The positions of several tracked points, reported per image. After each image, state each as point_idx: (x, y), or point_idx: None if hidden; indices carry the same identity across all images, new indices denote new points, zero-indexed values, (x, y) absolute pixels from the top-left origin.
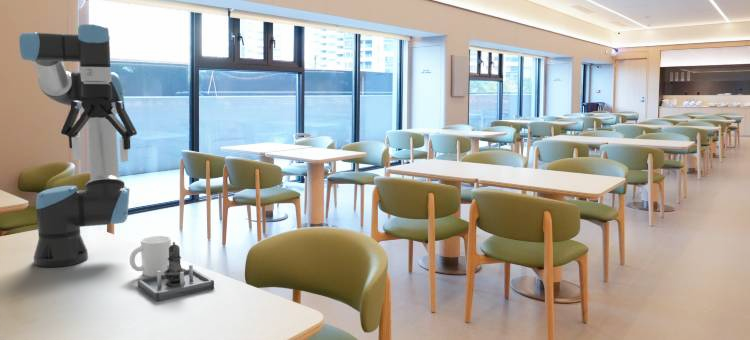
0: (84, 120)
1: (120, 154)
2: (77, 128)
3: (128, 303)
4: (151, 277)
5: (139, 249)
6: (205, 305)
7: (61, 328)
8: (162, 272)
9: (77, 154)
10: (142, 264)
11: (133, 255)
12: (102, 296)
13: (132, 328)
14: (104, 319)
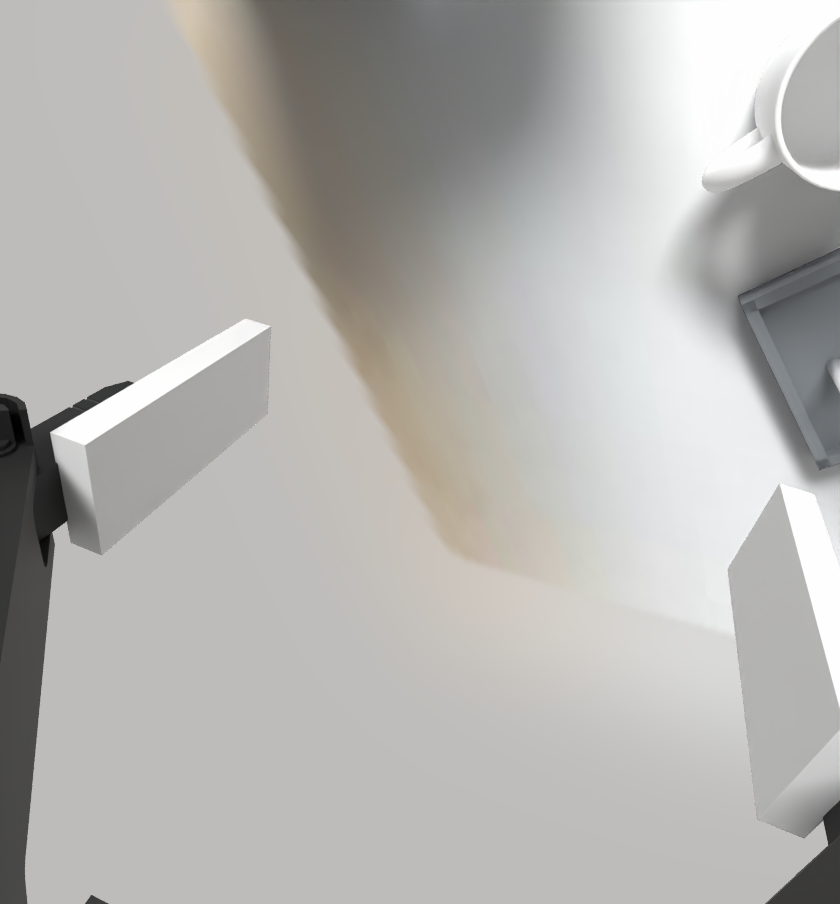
0: (21, 813)
1: (736, 629)
2: (43, 656)
3: (714, 448)
4: (804, 286)
5: (760, 174)
6: None
7: (561, 564)
8: None
9: (234, 405)
10: (761, 133)
11: (724, 190)
12: (617, 369)
13: None
14: (657, 543)
